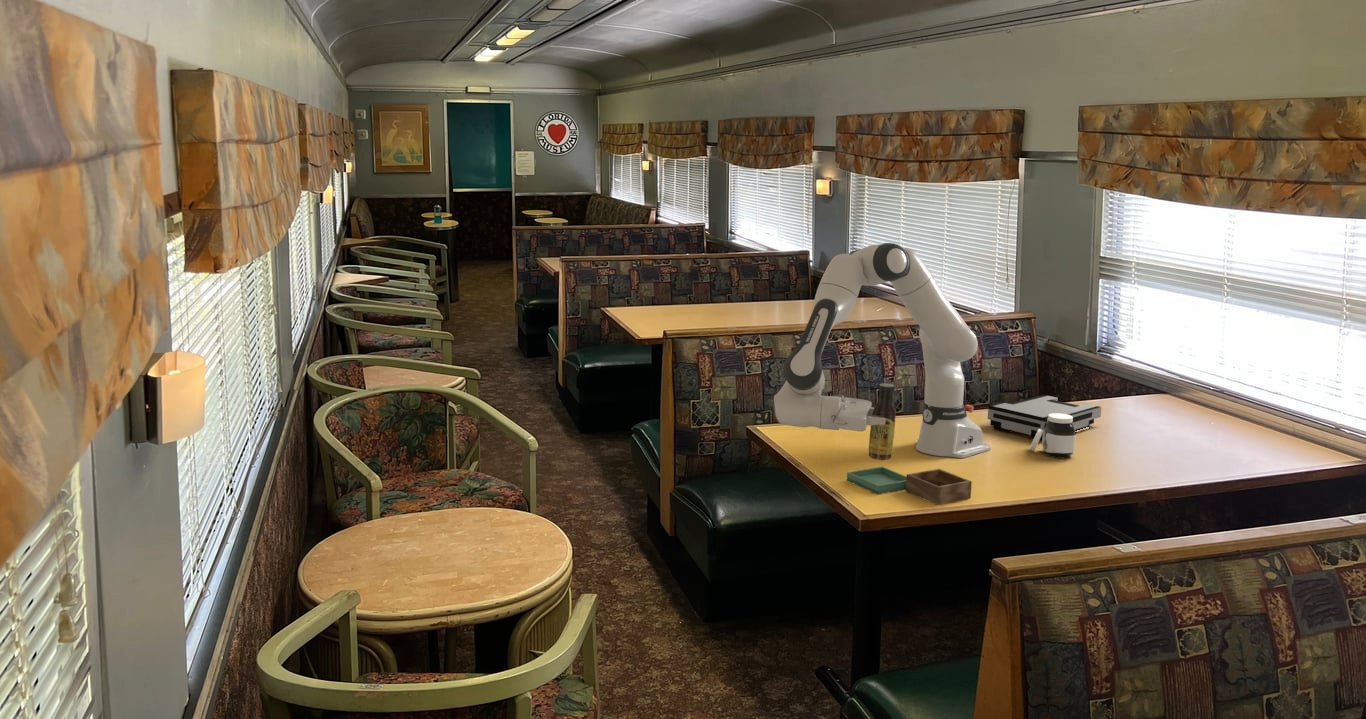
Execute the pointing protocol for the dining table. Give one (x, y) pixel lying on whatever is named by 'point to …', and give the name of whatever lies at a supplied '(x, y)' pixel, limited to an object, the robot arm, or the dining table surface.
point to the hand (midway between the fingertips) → (886, 417)
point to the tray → (878, 480)
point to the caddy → (938, 486)
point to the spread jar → (1056, 436)
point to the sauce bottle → (883, 434)
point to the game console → (1038, 414)
